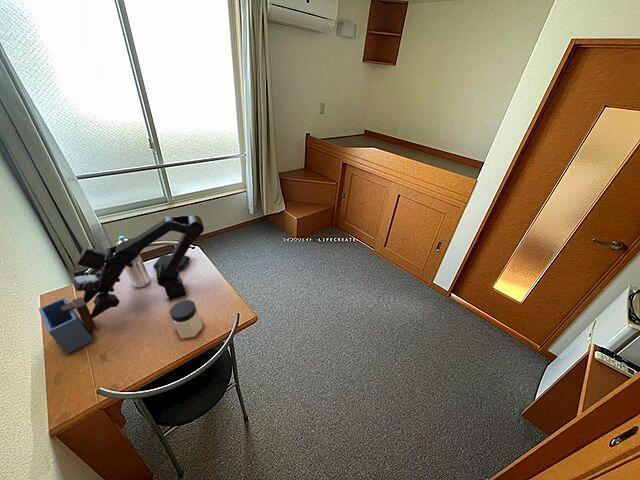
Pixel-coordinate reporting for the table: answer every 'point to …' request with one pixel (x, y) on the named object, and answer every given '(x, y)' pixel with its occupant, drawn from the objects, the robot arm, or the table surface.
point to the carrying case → (165, 258)
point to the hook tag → (81, 312)
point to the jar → (186, 318)
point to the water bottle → (136, 270)
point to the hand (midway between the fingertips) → (87, 311)
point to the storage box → (65, 326)
